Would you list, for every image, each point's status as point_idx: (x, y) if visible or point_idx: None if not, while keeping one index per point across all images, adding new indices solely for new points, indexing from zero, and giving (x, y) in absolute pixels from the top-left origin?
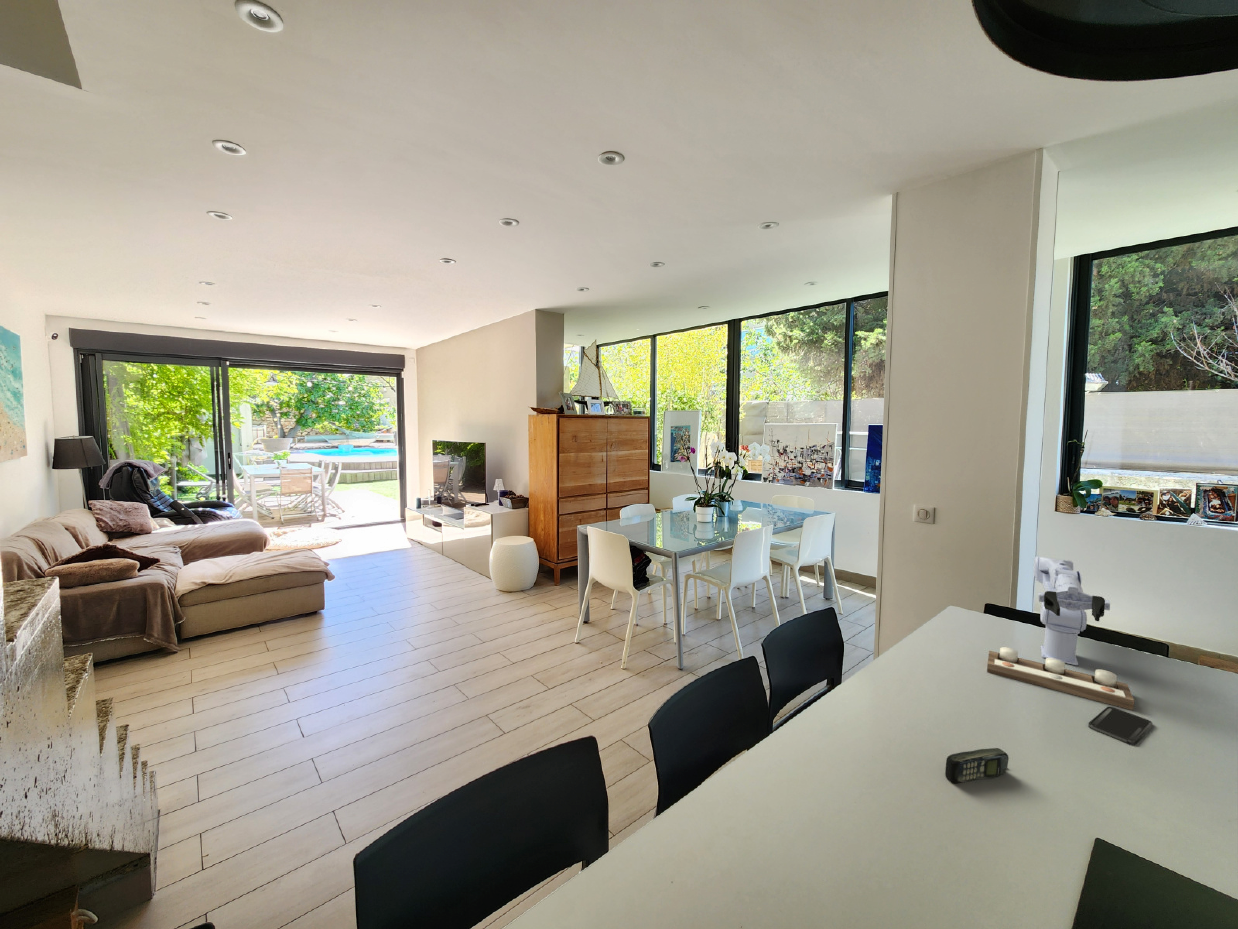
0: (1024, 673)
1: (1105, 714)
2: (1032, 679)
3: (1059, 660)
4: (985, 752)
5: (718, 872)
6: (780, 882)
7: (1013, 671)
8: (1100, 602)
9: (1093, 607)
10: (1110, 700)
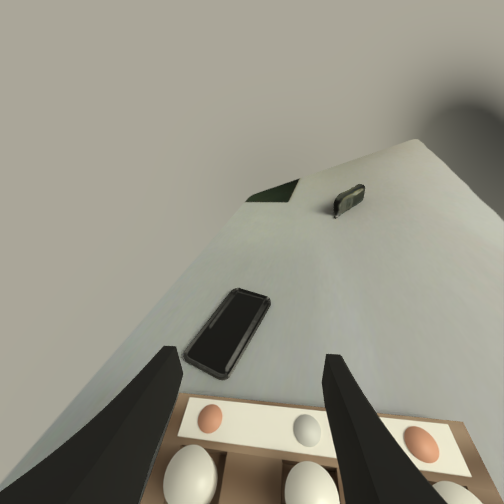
0: None
1: (241, 341)
2: None
3: None
4: (346, 192)
5: (397, 152)
6: (380, 156)
7: (395, 416)
8: (44, 466)
9: (110, 492)
10: None
